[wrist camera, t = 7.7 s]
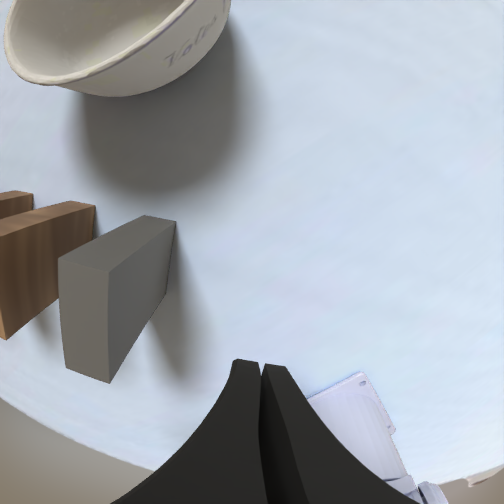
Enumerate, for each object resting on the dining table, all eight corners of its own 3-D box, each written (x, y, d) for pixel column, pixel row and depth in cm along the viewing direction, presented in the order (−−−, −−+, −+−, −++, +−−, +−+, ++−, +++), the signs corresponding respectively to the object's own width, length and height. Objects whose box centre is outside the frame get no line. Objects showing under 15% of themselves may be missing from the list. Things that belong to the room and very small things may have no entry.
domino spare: (175, 221, 17) (108, 272, 9) (165, 293, 18) (109, 383, 10) (144, 215, 17) (58, 258, 8) (136, 286, 18) (65, 367, 10)
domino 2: (95, 205, 17) (-6, 238, 8) (90, 274, 18) (6, 340, 9) (70, 200, 17) (-32, 229, 8) (66, 267, 18) (-21, 325, 9)
